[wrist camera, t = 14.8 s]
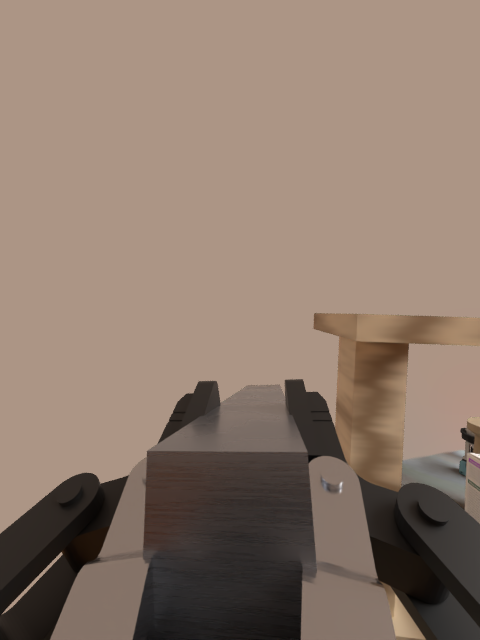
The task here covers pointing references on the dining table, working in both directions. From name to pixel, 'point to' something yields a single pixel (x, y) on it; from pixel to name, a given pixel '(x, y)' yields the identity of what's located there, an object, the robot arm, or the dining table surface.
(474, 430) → the handle
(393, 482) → the stand
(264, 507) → the long grey plank
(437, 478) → the dining table surface
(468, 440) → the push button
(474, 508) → the syrup box
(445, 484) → the dining table surface
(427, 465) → the dining table surface
